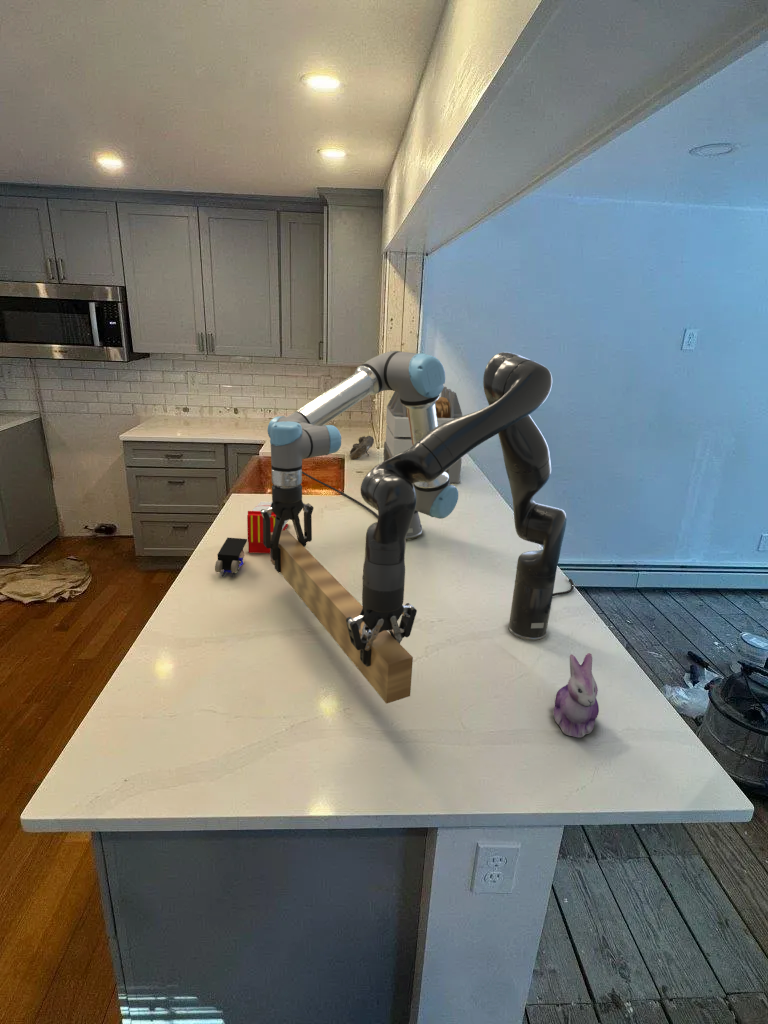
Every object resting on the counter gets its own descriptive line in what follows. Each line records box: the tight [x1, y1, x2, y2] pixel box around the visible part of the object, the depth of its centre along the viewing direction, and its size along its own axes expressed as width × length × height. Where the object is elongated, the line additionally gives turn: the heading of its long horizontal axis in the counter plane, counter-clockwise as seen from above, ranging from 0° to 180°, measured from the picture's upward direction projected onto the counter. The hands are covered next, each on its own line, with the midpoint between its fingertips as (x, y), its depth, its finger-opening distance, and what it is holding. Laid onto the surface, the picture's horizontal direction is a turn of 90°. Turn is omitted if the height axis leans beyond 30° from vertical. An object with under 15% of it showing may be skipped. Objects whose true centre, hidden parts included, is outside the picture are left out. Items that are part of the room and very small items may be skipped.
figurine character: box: [214, 537, 248, 578], centre depth 166 cm, size 7×8×15 cm
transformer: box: [383, 386, 463, 484], centre depth 268 cm, size 34×33×41 cm
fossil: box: [349, 435, 375, 460], centre depth 301 cm, size 22×10×15 cm
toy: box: [246, 500, 290, 554], centre depth 190 cm, size 12×13×30 cm
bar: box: [269, 529, 414, 705], centre depth 128 cm, size 66×5×8 cm, turn 29°
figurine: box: [553, 652, 600, 738], centre depth 108 cm, size 9×10×15 cm
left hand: (288, 568), depth 150 cm, fingers closed on bar, 5 cm apart
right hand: (379, 660), depth 107 cm, fingers closed on bar, 5 cm apart
